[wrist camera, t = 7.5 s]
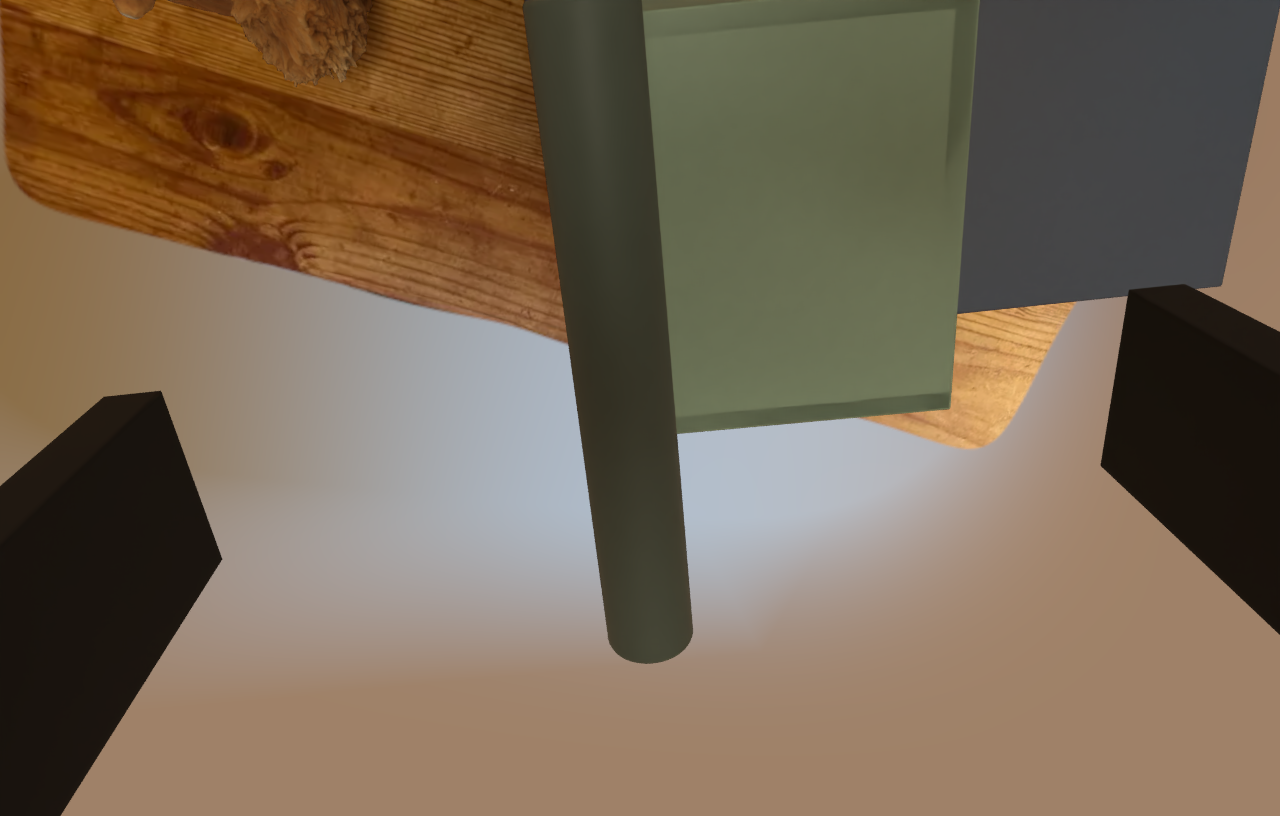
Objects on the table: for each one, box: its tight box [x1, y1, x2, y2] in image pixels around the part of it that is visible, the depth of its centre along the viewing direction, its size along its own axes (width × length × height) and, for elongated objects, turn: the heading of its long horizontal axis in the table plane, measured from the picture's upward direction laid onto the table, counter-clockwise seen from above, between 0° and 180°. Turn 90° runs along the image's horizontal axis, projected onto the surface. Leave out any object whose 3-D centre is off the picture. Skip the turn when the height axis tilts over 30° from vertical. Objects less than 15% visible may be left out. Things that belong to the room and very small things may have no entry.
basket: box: [523, 0, 980, 664], centre depth 22 cm, size 19×11×10 cm
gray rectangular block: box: [525, 0, 1280, 314], centre depth 40 cm, size 25×14×20 cm, turn 95°
